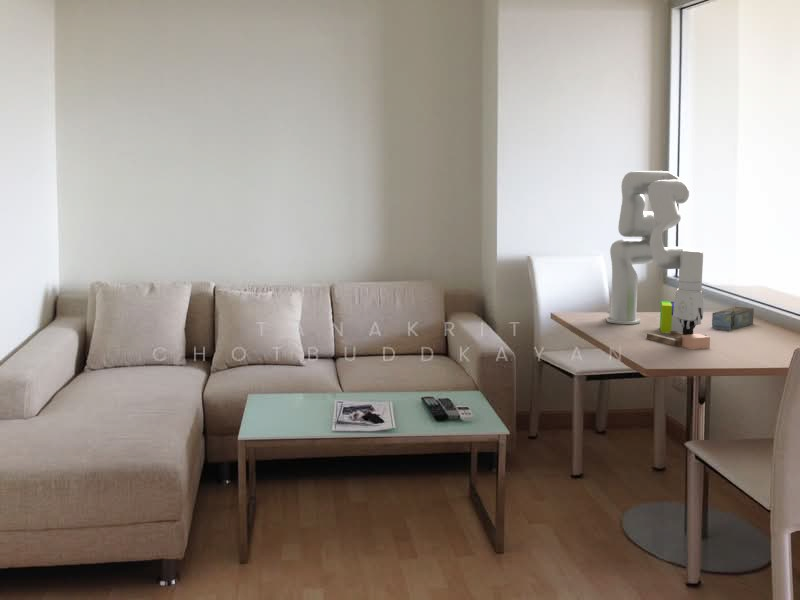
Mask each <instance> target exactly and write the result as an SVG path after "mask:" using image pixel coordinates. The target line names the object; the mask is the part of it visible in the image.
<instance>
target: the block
mask: <svg viewBox="0 0 800 600" xmlns="http://www.w3.org/2000/svg"><path fill="white" fill-rule="evenodd" d="M701 334H702V333H693V334H689V335H681V337H682V346H681V347H682V348H686V347H687V348H686V349H689V348H690V350H698V349H699V348H702V349H709V348H710V343H711V336H708V335H706V334H705V335H706V336H705V335H701ZM699 350H700V349H699Z"/></svg>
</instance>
